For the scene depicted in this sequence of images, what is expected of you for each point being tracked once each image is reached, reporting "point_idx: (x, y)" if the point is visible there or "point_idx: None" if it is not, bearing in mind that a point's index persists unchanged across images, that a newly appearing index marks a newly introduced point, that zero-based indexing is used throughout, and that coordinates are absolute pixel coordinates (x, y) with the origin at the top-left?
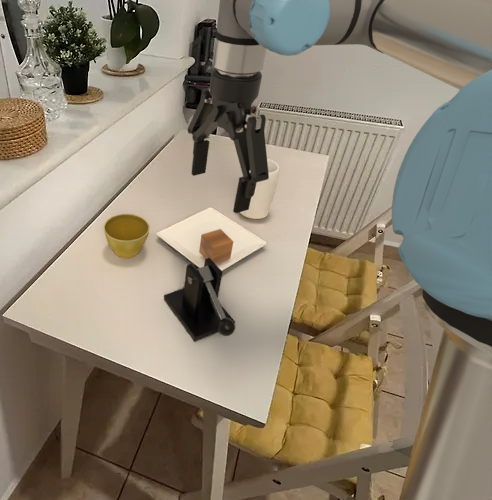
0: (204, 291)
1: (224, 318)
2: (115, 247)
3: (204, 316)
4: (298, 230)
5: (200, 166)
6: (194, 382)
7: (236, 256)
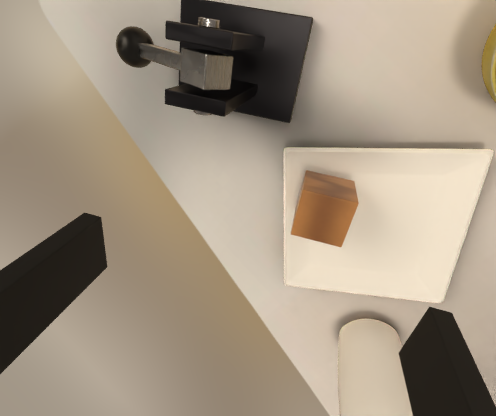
0: (236, 85)
1: (135, 49)
2: None
3: None
4: (284, 336)
5: (425, 374)
6: None
7: None
